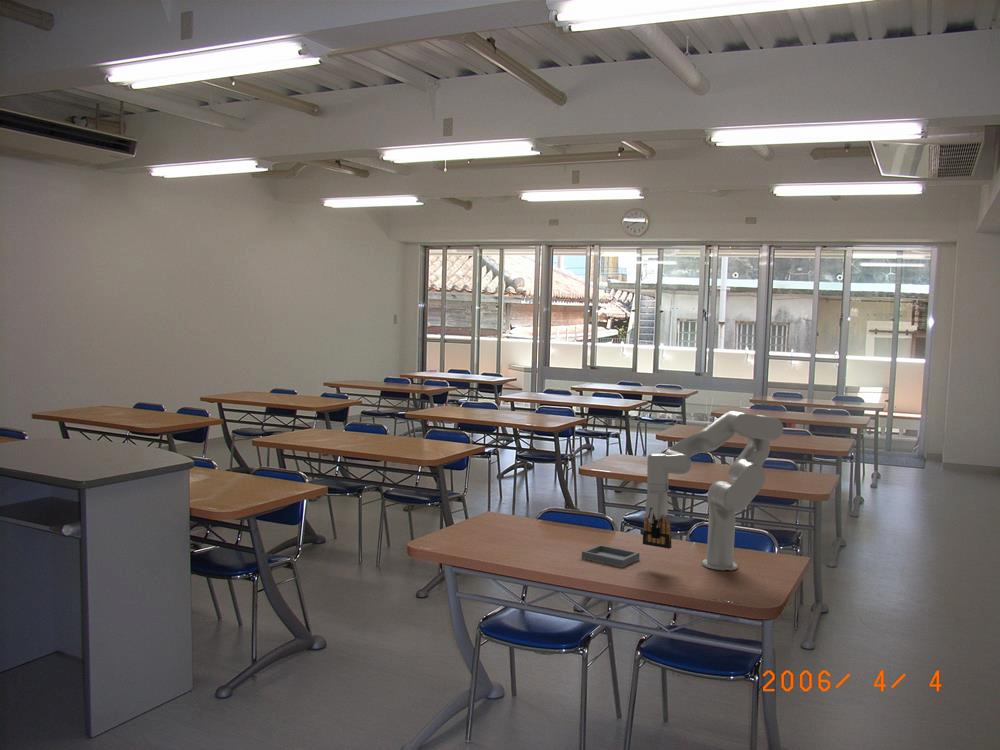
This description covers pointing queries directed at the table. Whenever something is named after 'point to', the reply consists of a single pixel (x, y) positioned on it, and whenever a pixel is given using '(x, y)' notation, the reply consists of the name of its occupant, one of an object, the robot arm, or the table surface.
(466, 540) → the table surface
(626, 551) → the holder tray
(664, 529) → the ammunition clip
